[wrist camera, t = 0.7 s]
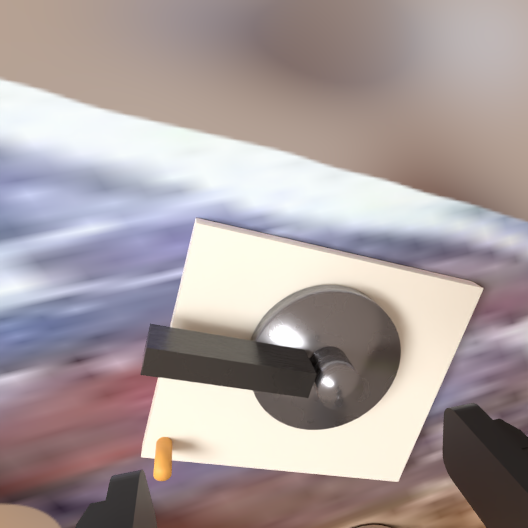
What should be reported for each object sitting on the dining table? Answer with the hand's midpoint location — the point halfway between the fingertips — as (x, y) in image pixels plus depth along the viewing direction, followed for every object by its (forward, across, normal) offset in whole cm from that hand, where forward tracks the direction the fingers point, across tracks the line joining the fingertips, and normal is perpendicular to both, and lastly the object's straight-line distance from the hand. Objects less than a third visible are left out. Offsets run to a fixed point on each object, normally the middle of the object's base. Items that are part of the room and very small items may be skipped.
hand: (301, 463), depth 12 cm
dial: (+19, -2, +7) cm, 20 cm away
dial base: (+21, -5, +10) cm, 24 cm away
